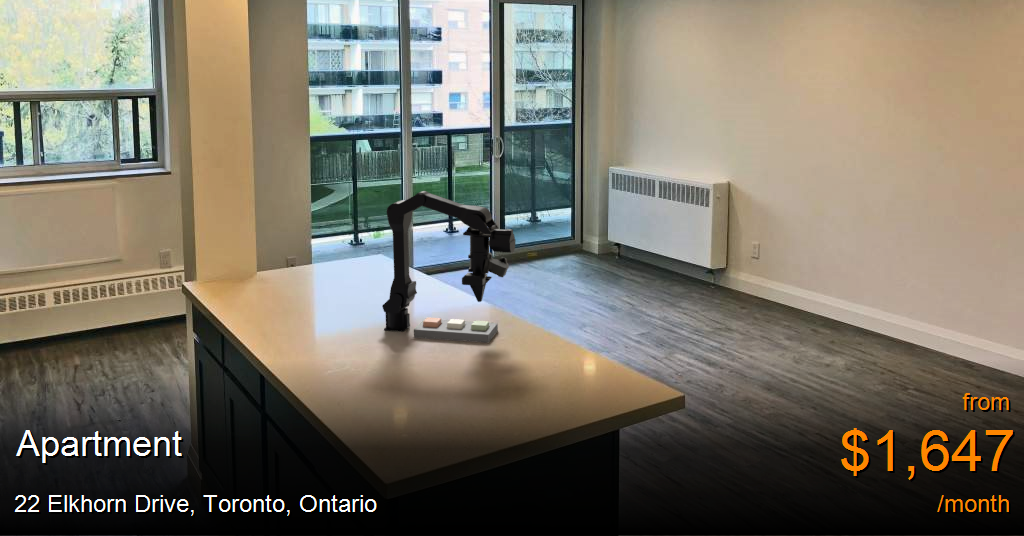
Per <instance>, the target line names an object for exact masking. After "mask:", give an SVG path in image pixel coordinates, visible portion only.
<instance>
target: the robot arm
mask: <svg viewBox="0 0 1024 536" xmlns="http://www.w3.org/2000/svg"><path fill="white" fill-rule="evenodd" d="M421 207H423V208H426V209H430V210H433V211H435V212H438V213H440V214H443V215H445V216H446V215H447V216H450V217H453V218H456V219H458V220H459V221H460V222H461V223H462V224H464V225H466V226H467V229H466V230H465V231H464V232H462V235H463V236H468V237H469V253H468V255H467V256H468V259H469V268H468V271H467V272H466V273H465V274H464V275H463V276H462V277H461V285H462V286H470V289H471V290H472V292H473V294H474V295H473V296H475V299H476V301H477V302H478V303H481V302H483V297H484V294H485V290H486V286H487V283H488V282H490V280H491V279H492V278H493V276H488V274H489V272H490V273H491V274H494V275H496V276H498V277H499V278H504V277H505V276H506V274H507V272H508V269H509V268H510V265H509V263H508V259H507V258H506V257H504V256H501V257H500V258H499V259H498V258H493V254H492V252H490V250H492V251H493V252H496V253H509V254H513V253H514V252H515V248H516V238H515V234H514V229H511V228H509V229H507V228H506V229H502V228H501V229H499V226H498V224H497V223H496V222H495V221H494V218H492V213H491V211H490V209H489V208H487V207H484V206H478V205H468V204H462V203H459V202H456V201H453V200H451V199H448V198H444V197H442V196H439V195H437V194H433V193H430V192H429V191H426V190H423V191H420V192H417V193H416V194H415V195H412V196H411V197H409V198H407V199H406V200H404V199H402V200H401V199H400V200H398V201H396V202H395V201H394V202H393V203H391V204H390V205H388V207H386V217H387V222H388V223H387V224H388V225H389V227H390V229H391V231H392V251H393V253H392V254H393V256H392V257H393V279H392V283H391V285H390V289H389V290H390V291H389V298H388V299H387V300H386V301H385V302H384V304H382V310H383V312H384V313H385V327H384V328H383V331H388V332H390V331H391V332H402V333H403V332H405V331H407V329H409V328H410V327H411V323H410V322H411V320H410V317H411V316H410V313H409V309H408V307H409V306H410V303H411V302H412V301H413V300H414V299H415V297H416V294H418V292H417V281H416V280H414V281H412V279H411V277H410V256H409V255H410V254H409V253H410V251H409V249H410V248H409V229H410V225H411V222H412V218H413V212H414V211H416V210H417V209H419V208H421Z"/></svg>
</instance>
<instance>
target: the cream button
mask: <svg viewBox="0 0 1024 536" xmlns="http://www.w3.org/2000/svg"><path fill="white" fill-rule="evenodd" d="M449 320H450V321H449V322H448V323H447V328H452V329H463V327H464V326H465V321H466V319H458V318H457V319H456V318H450V319H449Z"/></svg>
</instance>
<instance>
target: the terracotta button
mask: <svg viewBox="0 0 1024 536" xmlns="http://www.w3.org/2000/svg"><path fill="white" fill-rule="evenodd" d="M424 319H425V318H424ZM424 319H423V320H424ZM441 319H442V318H441V317H429V316H427V317H426V319H425V320H424V321H423V320H422V321H423V327H439V326H440V325H441Z"/></svg>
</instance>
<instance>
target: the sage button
mask: <svg viewBox="0 0 1024 536" xmlns="http://www.w3.org/2000/svg"><path fill="white" fill-rule="evenodd" d="M489 323H490V322H489V320H488V321H487V320H474V322H473V323H472V324H471V330H481V331H487V329H488V328H489Z"/></svg>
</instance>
